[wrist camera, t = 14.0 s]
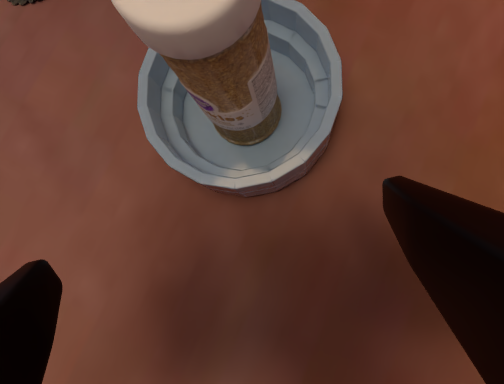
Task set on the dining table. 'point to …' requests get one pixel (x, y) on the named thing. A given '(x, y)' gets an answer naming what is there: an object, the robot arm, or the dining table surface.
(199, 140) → the bowl
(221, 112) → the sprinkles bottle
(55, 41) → the dining table surface
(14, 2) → the eagle figurine
